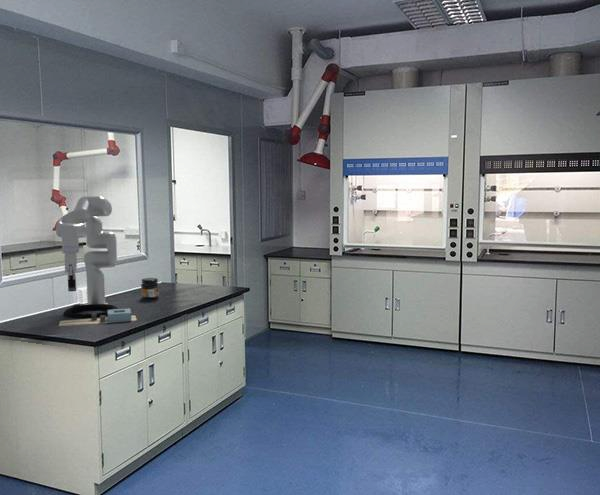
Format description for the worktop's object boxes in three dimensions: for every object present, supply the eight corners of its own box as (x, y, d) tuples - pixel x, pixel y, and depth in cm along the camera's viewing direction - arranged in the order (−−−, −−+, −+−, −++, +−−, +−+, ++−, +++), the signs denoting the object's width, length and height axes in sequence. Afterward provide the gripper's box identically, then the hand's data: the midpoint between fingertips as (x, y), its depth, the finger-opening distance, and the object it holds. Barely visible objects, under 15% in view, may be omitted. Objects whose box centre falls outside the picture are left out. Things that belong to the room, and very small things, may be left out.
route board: (60, 323, 276) (59, 315, 276) (135, 317, 288) (135, 310, 288) (58, 328, 265) (58, 320, 264) (136, 322, 277) (136, 315, 277)
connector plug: (68, 290, 272) (67, 274, 271) (76, 289, 273) (75, 273, 272) (68, 291, 269) (67, 275, 268) (76, 291, 270) (75, 274, 269)
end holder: (107, 317, 283) (107, 309, 283) (130, 315, 287) (130, 308, 287) (108, 322, 273) (108, 314, 272) (131, 320, 277) (131, 312, 276)
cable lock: (80, 316, 275) (50, 308, 294) (81, 324, 276) (50, 315, 294) (128, 307, 297) (97, 300, 315) (128, 314, 297) (98, 307, 316)
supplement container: (152, 300, 333) (152, 280, 331) (137, 299, 336) (137, 279, 335) (162, 297, 342) (162, 278, 341) (147, 296, 346) (147, 277, 345)
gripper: (63, 248, 275) (64, 284, 277) (61, 251, 260) (62, 290, 262) (79, 247, 278) (80, 283, 280) (78, 251, 262) (79, 289, 264)
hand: (72, 286), depth 271 cm, fingers closed on connector plug, 3 cm apart
